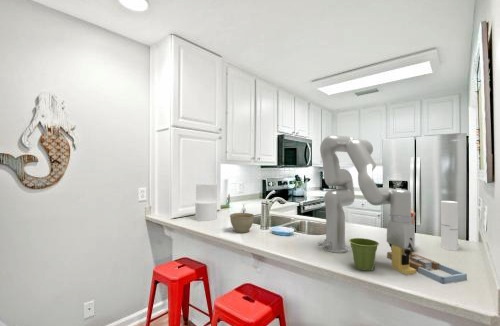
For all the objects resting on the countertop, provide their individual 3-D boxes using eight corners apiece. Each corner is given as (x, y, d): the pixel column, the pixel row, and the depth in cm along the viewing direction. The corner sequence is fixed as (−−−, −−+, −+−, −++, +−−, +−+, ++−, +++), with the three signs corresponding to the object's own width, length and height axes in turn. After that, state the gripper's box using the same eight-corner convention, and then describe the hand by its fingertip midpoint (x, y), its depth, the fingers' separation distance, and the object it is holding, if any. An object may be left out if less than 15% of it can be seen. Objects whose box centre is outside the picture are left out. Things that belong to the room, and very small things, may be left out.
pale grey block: (417, 267, 107) (417, 259, 107) (410, 264, 110) (410, 256, 110) (423, 266, 108) (423, 258, 108) (416, 263, 111) (416, 256, 111)
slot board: (418, 274, 102) (418, 265, 102) (387, 259, 118) (387, 252, 118) (439, 271, 105) (439, 263, 105) (405, 257, 121) (405, 250, 121)
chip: (425, 270, 104) (425, 262, 104) (418, 267, 107) (418, 260, 107) (431, 269, 104) (431, 262, 104) (424, 266, 107) (424, 259, 108)
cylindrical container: (442, 245, 140) (442, 200, 140) (458, 248, 134) (458, 201, 135) (439, 248, 135) (439, 201, 135) (457, 251, 129) (457, 203, 130)
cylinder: (199, 216, 215) (199, 183, 215) (218, 216, 213) (219, 183, 214) (192, 220, 198) (192, 185, 198) (214, 221, 196) (214, 185, 196)
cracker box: (415, 254, 125) (415, 212, 125) (401, 252, 127) (401, 211, 127) (411, 246, 137) (411, 208, 137) (398, 245, 140) (398, 207, 140)
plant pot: (382, 267, 109) (382, 241, 109) (373, 276, 101) (373, 248, 101) (355, 260, 117) (355, 236, 118) (344, 267, 109) (344, 241, 109)
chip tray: (442, 286, 92) (442, 277, 92) (417, 274, 102) (417, 266, 102) (466, 282, 95) (466, 274, 95) (440, 271, 105) (440, 263, 105)
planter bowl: (255, 233, 161) (256, 217, 162) (230, 234, 159) (230, 217, 159) (251, 227, 177) (252, 212, 177) (229, 228, 175) (229, 212, 175)
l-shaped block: (406, 277, 100) (406, 249, 100) (391, 269, 107) (391, 243, 107) (416, 275, 101) (416, 248, 101) (401, 268, 108) (401, 243, 108)
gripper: (378, 215, 113) (378, 256, 113) (410, 223, 97) (410, 271, 96) (391, 214, 115) (391, 254, 115) (426, 222, 98) (426, 269, 98)
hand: (400, 262), depth 106 cm, fingers closed on l-shaped block, 4 cm apart
